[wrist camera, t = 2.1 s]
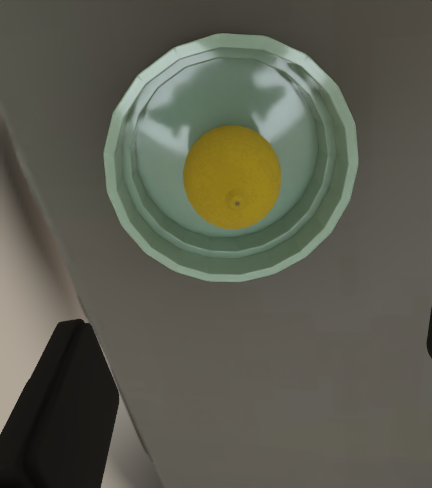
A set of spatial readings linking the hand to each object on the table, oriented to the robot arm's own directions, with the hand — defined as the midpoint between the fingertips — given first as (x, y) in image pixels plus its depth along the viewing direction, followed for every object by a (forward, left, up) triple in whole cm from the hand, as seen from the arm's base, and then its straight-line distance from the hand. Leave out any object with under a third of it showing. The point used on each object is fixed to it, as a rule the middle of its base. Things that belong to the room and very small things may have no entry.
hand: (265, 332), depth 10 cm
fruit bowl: (0, 0, -17) cm, 17 cm away
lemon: (0, 0, -17) cm, 17 cm away
